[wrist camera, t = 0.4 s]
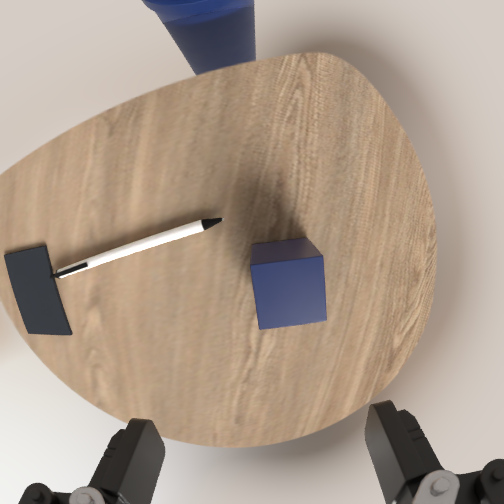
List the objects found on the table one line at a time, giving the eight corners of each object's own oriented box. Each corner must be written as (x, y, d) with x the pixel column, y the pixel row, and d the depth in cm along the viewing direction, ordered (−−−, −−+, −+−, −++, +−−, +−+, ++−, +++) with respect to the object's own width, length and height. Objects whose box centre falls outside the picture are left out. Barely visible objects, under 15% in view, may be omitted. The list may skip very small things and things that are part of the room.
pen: (51, 271, 24) (45, 275, 23) (223, 212, 23) (221, 214, 22) (54, 279, 25) (48, 283, 23) (226, 223, 23) (224, 225, 22)
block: (252, 244, 23) (249, 264, 18) (307, 237, 23) (323, 255, 17) (259, 295, 24) (259, 330, 19) (311, 289, 24) (326, 321, 18)
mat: (5, 254, 24) (3, 255, 24) (46, 245, 24) (44, 246, 23) (29, 332, 27) (28, 333, 26) (72, 333, 26) (71, 335, 26)
